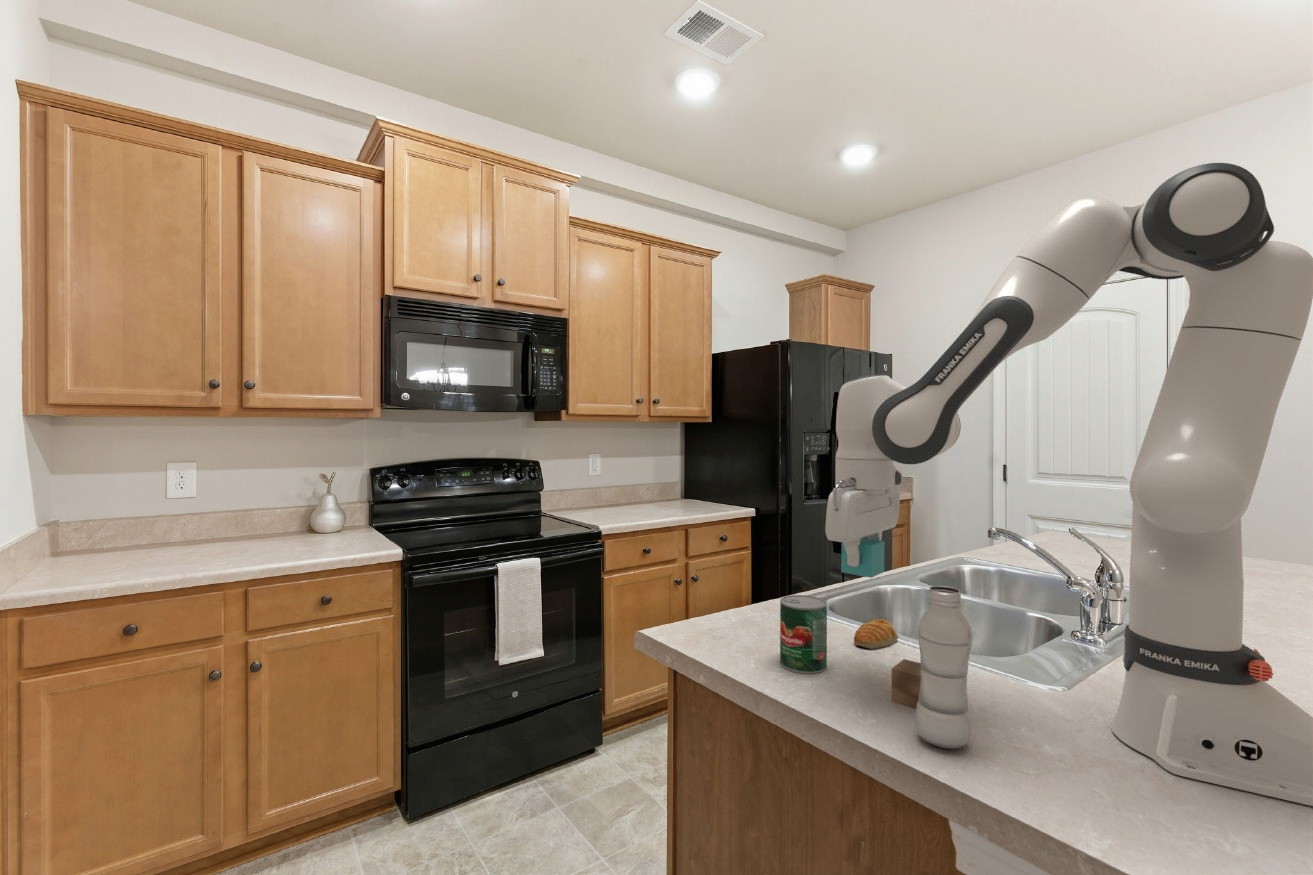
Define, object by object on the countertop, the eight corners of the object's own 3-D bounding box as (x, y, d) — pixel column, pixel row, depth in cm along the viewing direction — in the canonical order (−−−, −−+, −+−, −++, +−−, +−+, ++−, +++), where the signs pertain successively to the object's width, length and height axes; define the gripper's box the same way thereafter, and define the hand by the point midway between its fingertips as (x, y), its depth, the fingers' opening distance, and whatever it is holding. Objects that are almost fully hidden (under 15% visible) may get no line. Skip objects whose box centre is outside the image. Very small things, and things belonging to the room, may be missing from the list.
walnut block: (937, 700, 91) (937, 667, 91) (926, 712, 88) (926, 677, 88) (903, 690, 95) (903, 658, 95) (891, 701, 91) (891, 668, 91)
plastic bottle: (922, 724, 84) (924, 580, 83) (976, 741, 80) (979, 588, 79) (907, 743, 79) (909, 590, 78) (964, 762, 75) (967, 599, 74)
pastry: (879, 655, 110) (879, 633, 110) (844, 645, 115) (844, 625, 115) (900, 641, 117) (900, 622, 117) (866, 633, 121) (866, 614, 121)
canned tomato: (830, 660, 107) (831, 598, 106) (822, 677, 100) (823, 610, 99) (785, 653, 110) (785, 592, 110) (774, 669, 103) (775, 604, 103)
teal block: (884, 571, 99) (884, 541, 99) (871, 577, 95) (871, 545, 95) (854, 566, 102) (854, 537, 102) (841, 572, 98) (841, 541, 98)
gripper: (855, 482, 88) (854, 577, 89) (906, 474, 103) (905, 555, 104) (815, 479, 92) (814, 570, 93) (870, 472, 108) (869, 549, 108)
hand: (863, 562), depth 98 cm, fingers closed on teal block, 5 cm apart
